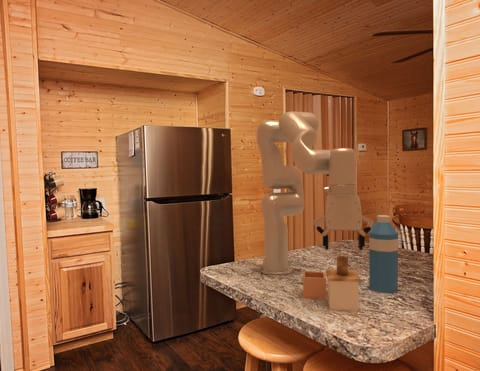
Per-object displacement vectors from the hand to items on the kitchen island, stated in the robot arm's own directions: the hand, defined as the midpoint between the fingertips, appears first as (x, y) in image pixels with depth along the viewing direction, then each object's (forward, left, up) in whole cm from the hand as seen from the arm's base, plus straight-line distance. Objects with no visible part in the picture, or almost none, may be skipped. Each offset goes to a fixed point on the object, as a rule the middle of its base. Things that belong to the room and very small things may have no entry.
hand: (343, 249), depth 108 cm
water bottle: (+15, +17, -18) cm, 29 cm away
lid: (0, 0, -8) cm, 8 cm away
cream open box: (0, 0, -17) cm, 17 cm away
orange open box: (-8, +8, -17) cm, 21 cm away
